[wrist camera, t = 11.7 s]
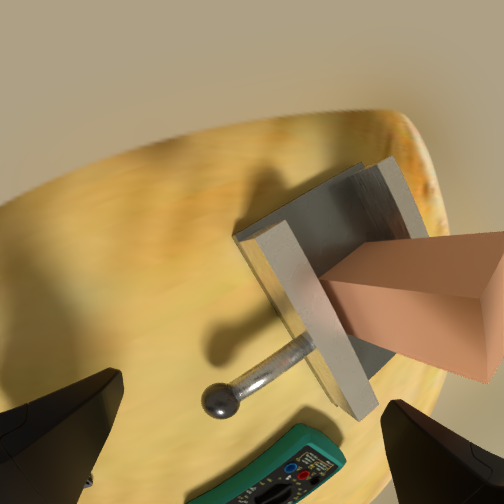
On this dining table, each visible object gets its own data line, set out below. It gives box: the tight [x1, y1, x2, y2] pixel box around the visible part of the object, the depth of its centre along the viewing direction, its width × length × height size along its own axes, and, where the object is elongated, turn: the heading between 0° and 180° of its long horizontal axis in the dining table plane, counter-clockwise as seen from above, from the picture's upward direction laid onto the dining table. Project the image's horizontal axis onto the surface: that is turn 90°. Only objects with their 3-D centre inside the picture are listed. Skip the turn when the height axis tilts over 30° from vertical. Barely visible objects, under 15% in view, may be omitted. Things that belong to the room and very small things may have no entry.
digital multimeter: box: [187, 424, 346, 504], centre depth 18 cm, size 7×15×3 cm, turn 130°
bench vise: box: [201, 155, 429, 422], centre depth 18 cm, size 20×16×4 cm
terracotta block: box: [318, 231, 504, 384], centre depth 14 cm, size 5×5×12 cm
